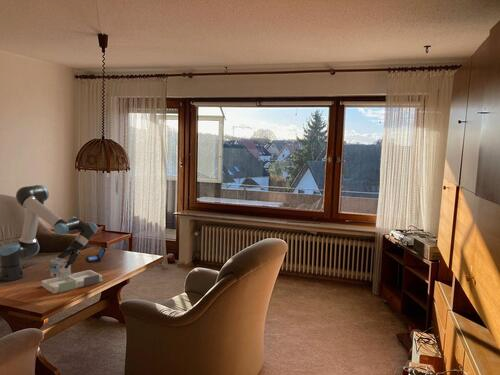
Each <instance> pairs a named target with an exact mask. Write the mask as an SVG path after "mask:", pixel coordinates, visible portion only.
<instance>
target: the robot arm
mask: <svg viewBox="0 0 500 375" xmlns="http://www.w3.org/2000/svg"><path fill="white" fill-rule="evenodd" d="M49 196H50V193H49V190H48V189H47V187H46V186H44V185H42V184H40V185H39V184H35V185H30V186H28V185H27V186H22V187H20V188H19V189H18V190H17V191H16V194H15V200H16V201H17V203H18V204H19V205H20V206H21V207H23V208H24V209H26V210H25V215H24V222H23V226H22V233H21V237H20V238H18V242H10V243H6V244H3V245H2V246H0V280H2V281H1V282H10V281H11V282H12V281H16V280H21V279H22V278H24V277H25V272H24V270H23V267H22V265H21V263H22V262H21V261H22V260H25V259H27V258H31V257H33V256H36V255H37V254H38V253H39V251H40V244H39V242H38V239H37V238H36V236H37V231H38V224H39V220H40V219H42V220H43V221H44V222H46V223H47V224H48V225H50V226H51V227H52V228H53V230H54V232H55V234H56V235H59V236H63V235H66V234H69V233H73V232H76V231H77V232H78V233H79V234H78V235H77V236H76V237H75V240H72V242H71V244H70V245H71V246H68V247H67V248H65V250H63V251H62V252H60V253H59V255H57V258H62V259H66V257H68V258H67V259H68V261H67V263H65V264H64V266H63V267H62V268H61V269H60V272H61V273H64V271H65V270H66V269H67V268H68V267H69V265H71V266H72V265H74V263H75V261H76V260H77V258H78V256H79V254H80V253H81V251H82V250H83V248H84V246H86V244H88V243H89V241H90V240H91V238H92V237H93V236H95V234H96V232H98V230H99V227H98V225H97V224H96V223H94V222H92V221H89V222H88V223H87V222H85V221H84V220H82V219H81V218H79V217H77V216H72V217H70V218H69V219H68V221H66V220H65V219H63V218H62V217H60V216H59V215H58V214H56V213H55V212H53V211H52V210H51V209H49V208H48V207H47V206H46V205H45V204H44V203H45V201H47V200H48V199H49ZM39 218H40V219H39Z"/></svg>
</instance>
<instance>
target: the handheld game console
mask: <svg viewBox="0 0 500 375" xmlns="http://www.w3.org/2000/svg"><path fill="white" fill-rule="evenodd" d="M105 253H106V248H105V246H104V245H102V247H101V249H100V250H99V251H98V253H97V254H95V255H87V256H86V260H87V263H98V262H99V261H100V262H101V260H102V258H103V256H104V254H105Z"/></svg>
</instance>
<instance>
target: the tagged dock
mask: <svg viewBox="0 0 500 375" xmlns="http://www.w3.org/2000/svg"><path fill="white" fill-rule="evenodd" d="M101 282H104V275H102V274H100V273H98V272H95V271H94V270H92V269H88V270H87V269H86V270H83V271H78V272H74V273H71V275H70V276H67V277H65V278H59V277H52V278H48V279H44V280H41V287H43V288H44V289H46V290H47V291H49V292H50V293H52V294H58V293H64V292H66V291H67V292H68V291H72V290H75V289H77V288H81V287H87V286H91V285H95V284H98V283H101Z"/></svg>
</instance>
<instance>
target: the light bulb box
mask: <svg viewBox="0 0 500 375" xmlns="http://www.w3.org/2000/svg"><path fill="white" fill-rule="evenodd" d="M68 259H69V258H64V259H62V258H58V257H55V258H54V259H50V260H49V264H50V265H49V266H50V268H49V269H50V277H52V278H56V277H59V278H65V277H67V276H70V275H71V274H72V270H71V268H72V267H71V266H72V264H71V265H69V267H68V268H67V269H66V270H65V271H64V273H61V272H60V269H61V268H62V267H63V266H64V264H65V263H67V261H68Z"/></svg>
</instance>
